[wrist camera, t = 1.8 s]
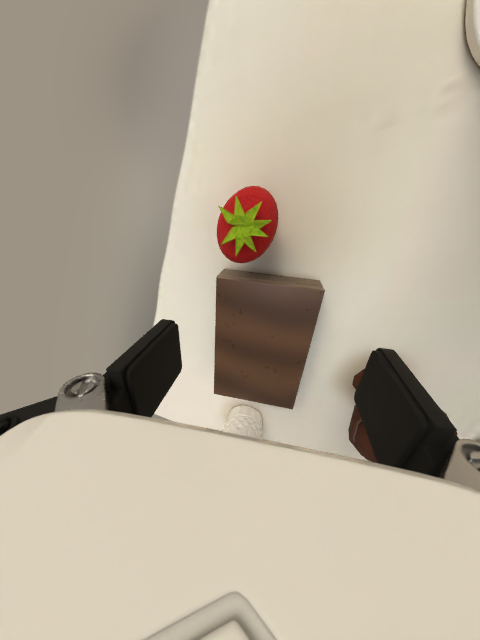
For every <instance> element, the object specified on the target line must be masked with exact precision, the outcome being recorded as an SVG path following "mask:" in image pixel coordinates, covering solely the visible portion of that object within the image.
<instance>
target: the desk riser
mask: <svg viewBox="0 0 480 640" xmlns="http://www.w3.org/2000/svg"><path fill="white" fill-rule="evenodd" d="M324 292H325V290H324V288H323V286H322V284H321V282H320V281H318V280H310V279H302V278H293V277H285V276H277V275H268V274H260V273H252V272H244V271H235V270H227V269H224V270H223V271H222V272H221V273H220V274H219V275H218V276H217V282H216V326H215V371H214V394H218V395H223V396H228V397H233V398H238V399H243V400H248V401H253V402H258V403H264V404H269V405H274V406H279V407H284V408H289V409H293V406H294V403H295V399H296V395H297V391H298V388H299V384H300V380H301V377H302V373H303V369H304V366H305V362H306V358H307V355H308V351H309V347H310V343H311V340H312V336H313V332H314V329H315V325H316V321H317V318H318V314H319V310H320V306H321V303H322V299H323V295H324Z"/></svg>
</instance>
